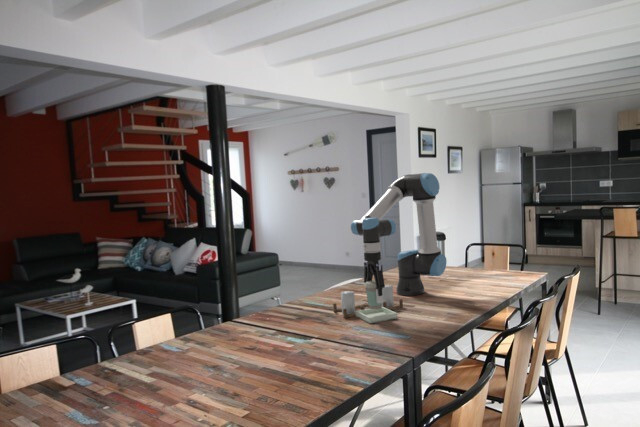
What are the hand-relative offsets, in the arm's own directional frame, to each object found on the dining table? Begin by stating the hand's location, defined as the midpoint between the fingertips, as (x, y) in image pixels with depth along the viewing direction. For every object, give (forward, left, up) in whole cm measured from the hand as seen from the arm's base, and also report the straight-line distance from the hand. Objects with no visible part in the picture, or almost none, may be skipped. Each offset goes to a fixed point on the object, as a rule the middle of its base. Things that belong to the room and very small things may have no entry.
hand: (375, 300), depth 219 cm
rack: (-3, -14, -8) cm, 16 cm away
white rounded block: (-14, -14, -8) cm, 21 cm away
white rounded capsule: (+7, -14, -8) cm, 18 cm away
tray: (0, 0, -8) cm, 8 cm away
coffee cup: (0, 0, -4) cm, 4 cm away
